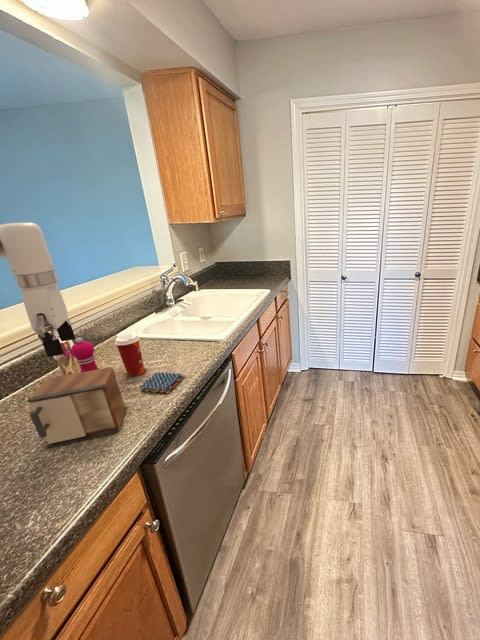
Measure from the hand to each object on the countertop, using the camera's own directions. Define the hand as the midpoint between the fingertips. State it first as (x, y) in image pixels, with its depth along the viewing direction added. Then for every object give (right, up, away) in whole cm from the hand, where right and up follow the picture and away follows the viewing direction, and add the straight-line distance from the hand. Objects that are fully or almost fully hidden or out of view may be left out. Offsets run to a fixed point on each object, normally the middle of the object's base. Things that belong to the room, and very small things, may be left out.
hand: (62, 347), depth 81 cm
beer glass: (-21, -13, +34) cm, 42 cm away
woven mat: (+13, -14, +28) cm, 34 cm away
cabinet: (+1, -22, +10) cm, 24 cm away
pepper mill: (-6, -16, +24) cm, 30 cm away
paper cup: (0, -11, +36) cm, 38 cm away
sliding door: (0, -25, +1) cm, 25 cm away
